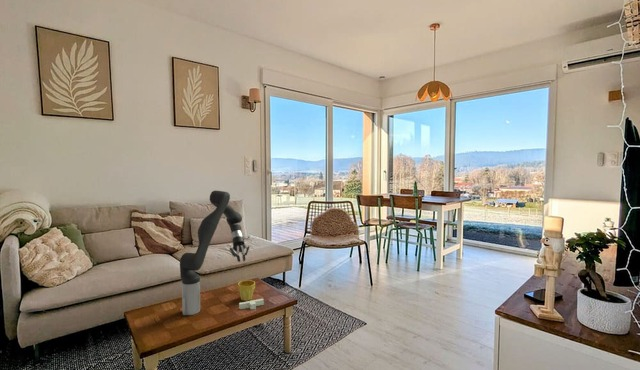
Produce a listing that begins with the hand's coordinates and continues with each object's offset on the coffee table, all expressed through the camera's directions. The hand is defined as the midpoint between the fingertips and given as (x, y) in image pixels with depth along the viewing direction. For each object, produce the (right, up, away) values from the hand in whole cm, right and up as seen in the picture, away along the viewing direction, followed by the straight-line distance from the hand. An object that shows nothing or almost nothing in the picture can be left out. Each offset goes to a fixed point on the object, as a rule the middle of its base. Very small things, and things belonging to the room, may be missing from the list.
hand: (241, 261), depth 201 cm
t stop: (+12, -22, -22) cm, 33 cm away
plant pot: (+6, -21, -10) cm, 24 cm away
